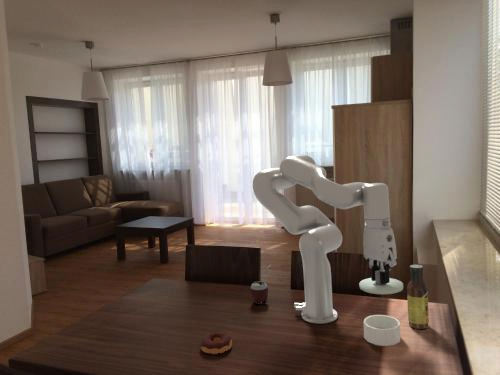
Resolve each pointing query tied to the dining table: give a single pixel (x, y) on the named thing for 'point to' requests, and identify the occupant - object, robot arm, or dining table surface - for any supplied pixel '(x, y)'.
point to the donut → (216, 342)
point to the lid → (380, 285)
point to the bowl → (382, 330)
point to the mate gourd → (260, 290)
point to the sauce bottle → (417, 299)
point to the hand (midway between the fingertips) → (380, 281)
